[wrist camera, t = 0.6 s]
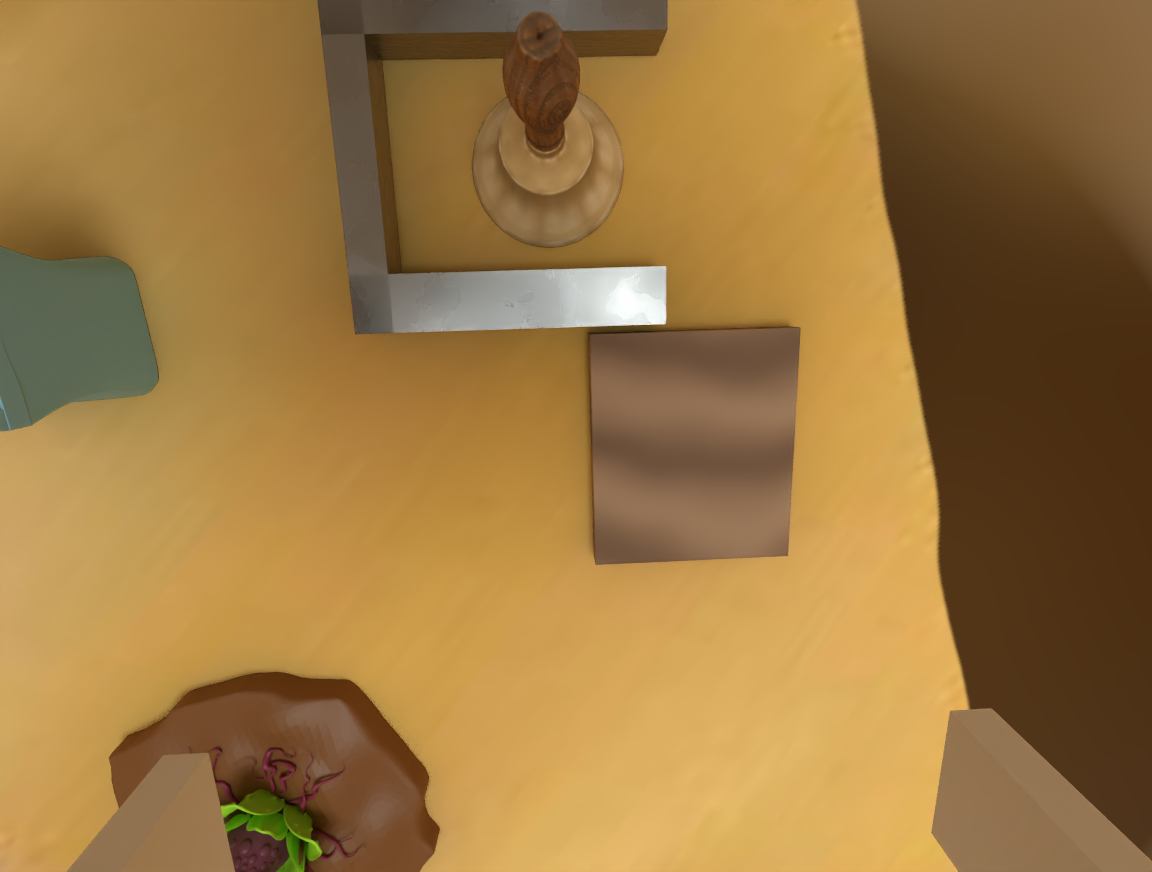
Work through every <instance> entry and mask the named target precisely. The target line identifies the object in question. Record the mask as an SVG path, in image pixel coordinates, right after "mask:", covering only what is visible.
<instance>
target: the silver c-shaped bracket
mask: <svg viewBox="0 0 1152 872" xmlns="http://www.w3.org/2000/svg"><path fill="white" fill-rule="evenodd" d="M318 9H319V18H320V27H321V35H322V44H323V53H324V62H325V71H326V80H327V88H328V97H329V106H330V115H331V124H332V132H333V141H334V150H335V159H336V168H337V177H338V185H339V194H340V203H341V212H342V221H343V230H344V238H345V247H346V256H347V265H348V274H349V282H350V291H351V300H352V309H353V318H354V327H355V334H373V333H404V332H435V331H466V330H497V329H528V328H559V327H590V326H622V325H653V324H666V266H650V267H615V268H580V269H546V270H511V271H476V272H441V273H406V274H402V269H401V258H400V247H399V236H398V226H397V215H396V204H395V194H394V183H393V172H392V162H391V151H390V140H389V130H388V119H387V108H386V97H385V87H384V76H383V65H382V60H398V59H460V58H504V55H505V52H506V49H507V46H508V43H509V41H510V39H511V38H512V36H513V35H514V33H515V32H516V31H517V29H518V26H519V23H520V21H521V20H522V18H524V17H525V16H526V15H527V14H529V13H531V12H534V11H543V12H545V13H548V14H550V15H551V16H553V17H554V18H555V20H556V21H557V22H558V24H559V27H560V28H561V30H562V31H563V32H564V33H565V34H566V36H567V37H568V38H569V40H570V41H571V43H572V45H573V47H574V49H575V51H576V54H577V57H584V56H645V55H657V53H658V50H659V48H660V46H661V43H662V41H663V39H664V36H665V34H666V31H667V0H318Z"/></svg>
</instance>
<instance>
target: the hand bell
mask: <svg viewBox="0 0 1152 872" xmlns="http://www.w3.org/2000/svg"><path fill="white" fill-rule="evenodd" d="M503 81H504V87H505V91H506V95H507V97H506V98H505V99H503V100H502V101H501V102H500V103H498V104H497V105H496V106H495V107H494V109H493V110H492V111H491V112H490V113H489V115H488V116H487V118H486V119H485V121H484V122H483V124H482V126H481V128H480V130H479V133H478V136H477V138H476V142H475V145H474V151H473V159H472V170H473V179H474V184H475V188H476V191H477V194H478V197H479V199H480V201H481V204H482V205H483V207H484V209H485V211H486V212H487V214H488V215H489V216H490V218H491V219H492V220H493V221H494V223H495V224H496V225H497V226H498V227H500V228H501V229H502V230H503V231H504V232H506V233H507V234H508V235H510V236H512V237H513V238H515V239H516V240H519V241H521V242H523V243H526V244H530V245H533V246H539V247H560V246H565V245H569V244H572V243H575V242H577V241H580V240H581V239H583V238H585V237H587V236H588V235H589V234H591V233H592V232H593V231H595V230H596V229H597V228H598V227H599V226H600V225H601V224H602V223H603V222H604V221H605V219H606V218H607V217H608V216H609V214H610V212H611V210H612V209H613V207H614V205H615V203H616V201H617V199H618V196H619V193H620V190H621V185H622V179H623V155H622V149H621V145H620V141H619V138H618V136H617V133H616V131H615V129H614V127H613V125H612V123H611V121H610V120H609V118H608V117H607V115H606V114H605V113H604V112H603V111H602V110H601V108H600V107H599V106H598V105H597V104H596V103H594V102H593V101H592V100H590V99H589V98H588V97H586V96H585V95H583V94H581V93H579V92H578V91H579V84H580V66H579V61H578V57H577V54H576V51H575V49H574V47H573V45H572V43H571V41H570V40H569V38H568V37H567V36H566V34H565V33H564V32H563V31H562V30H561V28H560V27H559V24H558V22H557V21H556V20H555V18H554V17H553V16H551V15H550V14H548V13H545V12H543V11H534V12H531V13H529V14H527V15H526V16H525V17H524V18H522V20H521V21H520V23H519V26H518V29H517V31H516V32H515V33H514V35H513V36H512V38H511V39H510V41H509V43H508V46H507V49H506V52H505V55H504V61H503Z"/></svg>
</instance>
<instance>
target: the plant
mask: <svg viewBox="0 0 1152 872" xmlns="http://www.w3.org/2000/svg"><path fill="white" fill-rule="evenodd" d="M195 753H209V757H210V762H211V766H212V771H213V775H214V780H215V784H216V789H217V793H218V798H219V802H220V806H221V811H222V815H223V820H224V824H225V829H226V833H227V838H228V842H229V847H230V851H231V856H232V860H233V865H234V869H235V872H420V870H421V868H422V867H423V865H424V864H425V863H426V862H427V860H428V859H429V858H430V857H431V856H432V855H433V854H434V852H435V848H436V843H437V839H438V834H439V830H440V829H439V826H438V825H437V824H436V823H435V822H434V821H433V820H432V818H431V817H430V816H429V814H428V812H427V810H426V807H425V798H424V797H425V793H426V789H427V785H428V781H429V776H428V773H427V771H426V769H425V767H424V766H423V765H422V763H421V762H420V761H419V760H418V759H417V758H416V757H415V755H414V754H413V753H412V752H411V750H410V749H409V748H408V746H407V745H406V744H405V743H404V741H403V740H402V739H401V738H400V737H399V735H398V734H397V733H396V732H395V731H394V730H393V728H392V727H391V726H390V725H389V724H388V723H387V721H386V720H385V719H384V718H383V716H382V715H381V714H380V712H379V711H378V710H377V708H376V707H375V706H374V704H373V703H372V702H371V701H370V699H369V698H368V697H367V696H366V695H365V694H364V693H363V691H362V690H361V689H360V688H359V687H358V686H357V685H356V684H354V683H353V682H351V681H349V680H336V679H309V678H302V677H297V676H294V675H291V674H287V673H280V672H270V673H255V674H249V675H245V676H241V677H238V678H235V679H231V680H228V681H224V682H221V683H217V684H213V685H209V686H205V687H201V688H198V689H195V690H192V691H190V692H189V693H188V694H187V695H186V696H185V697H184V698H183V699H182V700H181V701H180V702H179V703H178V704H177V705H176V706H175V707H174V708H173V709H172V710H171V711H170V713H169V714H168V715H167V717H166V718H164V719H162V720H161V721H159V722H157V723H155V724H153V725H152V726H150V727H148V728H146V729H144V730H141V731H138V732H136V733H133V734H130V735H128V736H127V737H126V738H125V739H124V741H123V742H122V743H121V744H120V745H119V746H118V747H117V748H116V749H115V750H114V751H113V752H112V754H111V755H110V757H109V760H110V765H111V773H112V784H113V789H114V793H115V796H116V799H117V803H118V806H119V808H120V807H121V806H122V804H123V803H124V802H125V801H126V800H127V798H128V797H129V796H130V795H131V794H132V792H133V791H134V790H135V789H136V788H137V786H138V785H139V784H140V783H141V781H142V780H143V779H144V778H145V777H146V775H147V774H148V773H149V772H150V771H151V769H152V768H153V767H154V766H155V765H156V763H157V762H158V761H159V760H160V759H161V757H162V756H163V755H177V754H195Z"/></svg>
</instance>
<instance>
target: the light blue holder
mask: <svg viewBox="0 0 1152 872" xmlns="http://www.w3.org/2000/svg"><path fill="white" fill-rule="evenodd" d="M158 377H159V376H158V368H157V364H156V359H155V355H154V351H153V347H152V343H151V339H150V335H149V331H148V327H147V323H146V319H145V315H144V311H143V307H142V303H141V299H140V295H139V291H138V287H137V283H136V279H135V276H134V273H133V271H132V270H131V268H130V267H129V266H128V265H127V264H125V263H123V262H122V261H120V260H119V259H116V258H113V257H85V258H73V259H61V260H49V261H47V260H42V259H38V258H34V257H31V256H27V255H24V254H21V253H18V252H15V251H12V250H10V249H7V248H4V247H1V246H0V431H9V430H14V429H18V428H23V427H27V426H31V425H32V424H34V423H36V422H37V421H39V420H40V419H42V418H44V417H45V416H47V415H48V414H50V413H52V412H53V411H55V410H57V409H59V408H60V407H62V406H64V405H66V404H68V403H70V402H81V401H92V400H103V399H114V398H125V397H133V396H139V395H144V394H146V393H148V392H150V391H151V390H152V389H153V388H154V387H155V385H156V384H157V382H158Z"/></svg>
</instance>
